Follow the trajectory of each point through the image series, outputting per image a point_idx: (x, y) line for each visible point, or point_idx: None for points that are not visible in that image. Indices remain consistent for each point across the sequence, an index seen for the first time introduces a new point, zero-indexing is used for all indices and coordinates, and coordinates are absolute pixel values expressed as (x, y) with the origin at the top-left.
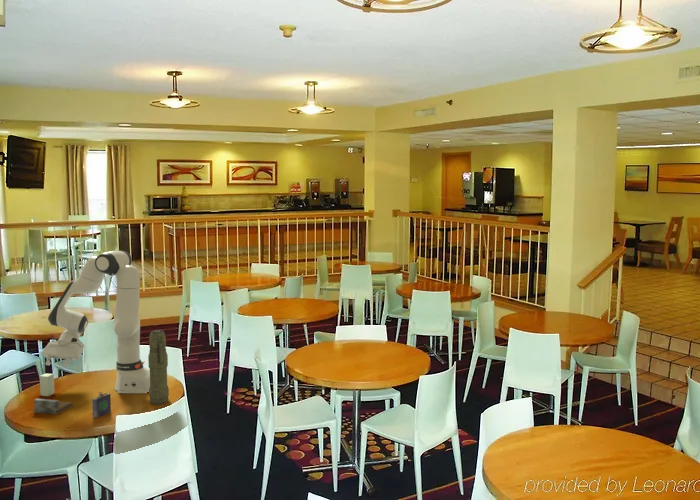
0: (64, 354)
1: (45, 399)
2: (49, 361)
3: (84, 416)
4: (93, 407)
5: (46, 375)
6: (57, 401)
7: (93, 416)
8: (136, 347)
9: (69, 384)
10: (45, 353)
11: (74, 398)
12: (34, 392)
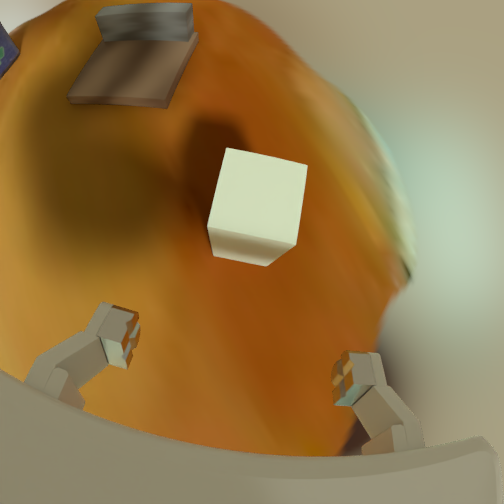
0: (95, 446)
1: (146, 10)
2: (349, 385)
3: (36, 52)
4: (6, 33)
5: (254, 180)
6: (98, 15)
7: (17, 48)
8: None
9: (198, 410)
10: (462, 453)
11: (78, 180)
12: (337, 266)
